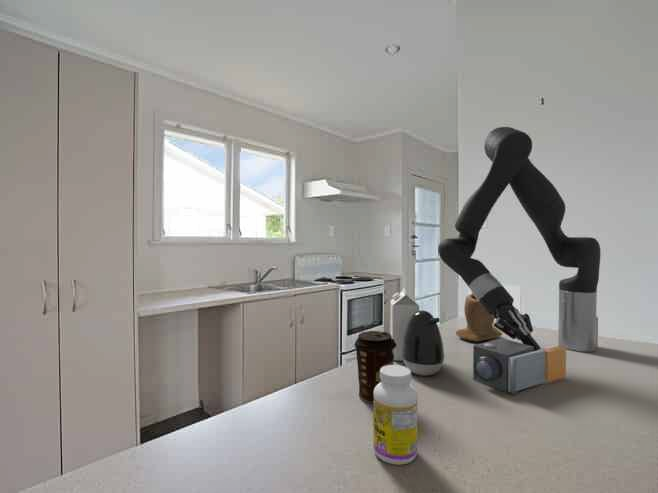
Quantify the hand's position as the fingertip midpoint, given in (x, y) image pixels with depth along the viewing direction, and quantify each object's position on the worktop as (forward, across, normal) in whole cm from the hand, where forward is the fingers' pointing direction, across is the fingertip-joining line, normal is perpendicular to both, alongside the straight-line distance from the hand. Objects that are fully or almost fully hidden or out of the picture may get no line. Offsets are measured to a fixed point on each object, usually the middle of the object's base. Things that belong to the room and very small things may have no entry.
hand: (536, 350), depth 84 cm
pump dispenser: (-6, +22, -15) cm, 28 cm away
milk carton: (-14, +19, -22) cm, 32 cm away
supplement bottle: (+8, +50, 0) cm, 51 cm away
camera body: (+3, +12, -5) cm, 13 cm away
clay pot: (-14, -15, -22) cm, 30 cm away
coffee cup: (-3, +41, -12) cm, 43 cm away
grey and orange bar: (+7, +6, -1) cm, 9 cm away
